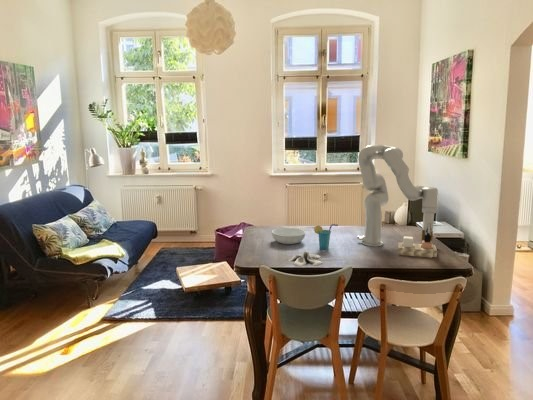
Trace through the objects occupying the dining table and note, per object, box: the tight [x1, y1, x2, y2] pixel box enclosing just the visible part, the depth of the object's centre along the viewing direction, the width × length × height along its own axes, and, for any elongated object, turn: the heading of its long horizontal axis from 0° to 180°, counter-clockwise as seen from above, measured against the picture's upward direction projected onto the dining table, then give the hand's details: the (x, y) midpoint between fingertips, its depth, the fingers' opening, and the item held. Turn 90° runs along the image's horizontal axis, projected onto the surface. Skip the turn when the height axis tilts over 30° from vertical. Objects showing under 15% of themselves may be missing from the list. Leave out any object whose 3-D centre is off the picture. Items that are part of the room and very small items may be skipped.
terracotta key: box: [421, 240, 433, 249], centre depth 237 cm, size 5×5×6 cm
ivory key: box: [402, 235, 414, 247], centre depth 240 cm, size 5×5×6 cm
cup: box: [313, 223, 339, 251], centre depth 246 cm, size 14×8×15 cm, turn 97°
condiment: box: [418, 229, 434, 245], centre depth 254 cm, size 7×8×12 cm
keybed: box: [397, 241, 438, 259], centre depth 239 cm, size 20×12×4 cm, turn 74°
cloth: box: [288, 250, 323, 267], centre depth 226 cm, size 22×19×6 cm
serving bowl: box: [271, 227, 306, 245], centre depth 261 cm, size 21×21×7 cm
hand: (427, 241), depth 236 cm, fingers closed
